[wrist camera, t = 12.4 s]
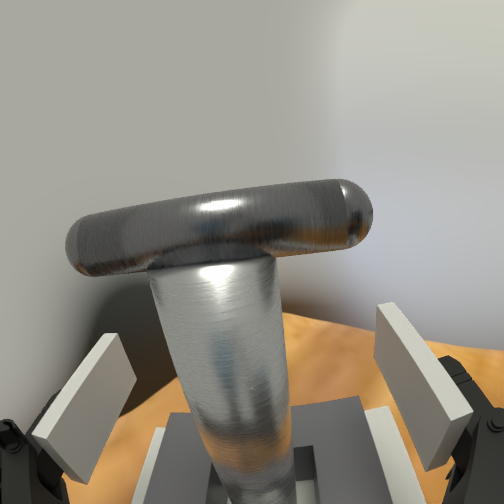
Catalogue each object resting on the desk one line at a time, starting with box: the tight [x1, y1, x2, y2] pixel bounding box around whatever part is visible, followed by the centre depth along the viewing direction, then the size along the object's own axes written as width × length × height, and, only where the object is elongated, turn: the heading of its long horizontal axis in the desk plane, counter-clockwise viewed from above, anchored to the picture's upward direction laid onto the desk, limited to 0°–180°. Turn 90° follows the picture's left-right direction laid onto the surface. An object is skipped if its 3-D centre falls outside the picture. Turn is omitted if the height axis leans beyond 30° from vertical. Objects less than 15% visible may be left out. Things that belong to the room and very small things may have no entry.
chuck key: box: [65, 179, 373, 504], centre depth 9 cm, size 8×3×16 cm, turn 88°
